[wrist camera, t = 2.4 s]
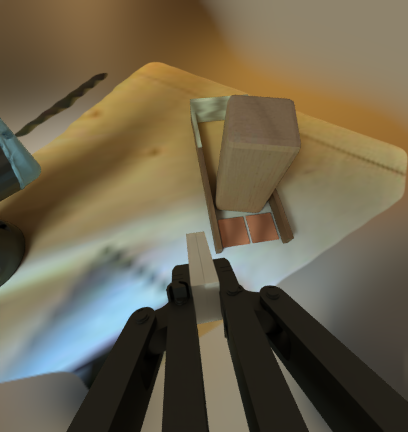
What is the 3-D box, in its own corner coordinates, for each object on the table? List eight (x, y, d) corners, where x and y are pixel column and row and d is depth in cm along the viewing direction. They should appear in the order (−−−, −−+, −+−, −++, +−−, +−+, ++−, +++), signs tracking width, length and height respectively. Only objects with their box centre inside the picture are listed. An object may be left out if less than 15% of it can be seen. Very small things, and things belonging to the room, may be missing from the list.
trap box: (215, 253, 39) (218, 245, 33) (190, 119, 55) (190, 99, 49) (287, 242, 40) (301, 232, 35) (243, 115, 56) (247, 94, 50)
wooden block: (258, 177, 47) (296, 96, 29) (260, 215, 43) (305, 147, 25) (217, 173, 47) (228, 91, 29) (214, 211, 43) (225, 141, 25)
